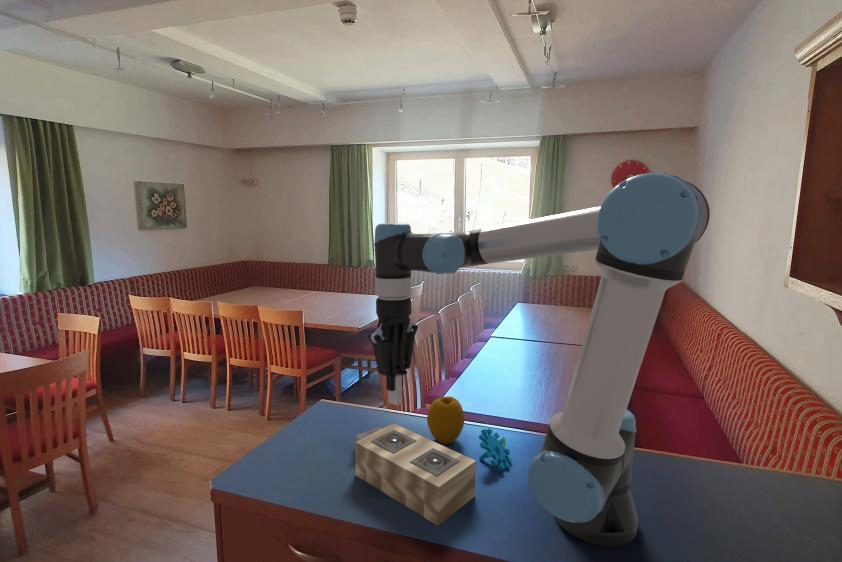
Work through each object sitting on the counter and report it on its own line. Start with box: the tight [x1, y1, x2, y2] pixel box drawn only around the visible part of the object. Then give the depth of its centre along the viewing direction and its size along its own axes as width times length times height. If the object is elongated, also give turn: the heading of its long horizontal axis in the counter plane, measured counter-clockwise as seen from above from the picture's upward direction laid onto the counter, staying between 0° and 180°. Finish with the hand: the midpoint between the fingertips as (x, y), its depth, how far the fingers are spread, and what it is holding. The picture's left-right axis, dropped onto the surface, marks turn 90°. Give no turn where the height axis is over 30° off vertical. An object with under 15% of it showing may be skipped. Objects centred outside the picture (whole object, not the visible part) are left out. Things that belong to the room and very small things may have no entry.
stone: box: [354, 427, 384, 442], centre depth 110 cm, size 10×8×6 cm
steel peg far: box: [386, 436, 402, 449], centre depth 100 cm, size 4×4×8 cm
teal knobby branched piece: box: [478, 427, 513, 471], centre depth 106 cm, size 11×6×10 cm
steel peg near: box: [426, 455, 444, 470], centre depth 92 cm, size 4×4×8 cm
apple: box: [426, 396, 466, 445], centre depth 115 cm, size 10×10×12 cm
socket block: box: [354, 423, 477, 526], centre depth 96 cm, size 24×12×8 cm, turn 48°
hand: (395, 403), depth 97 cm, fingers closed
